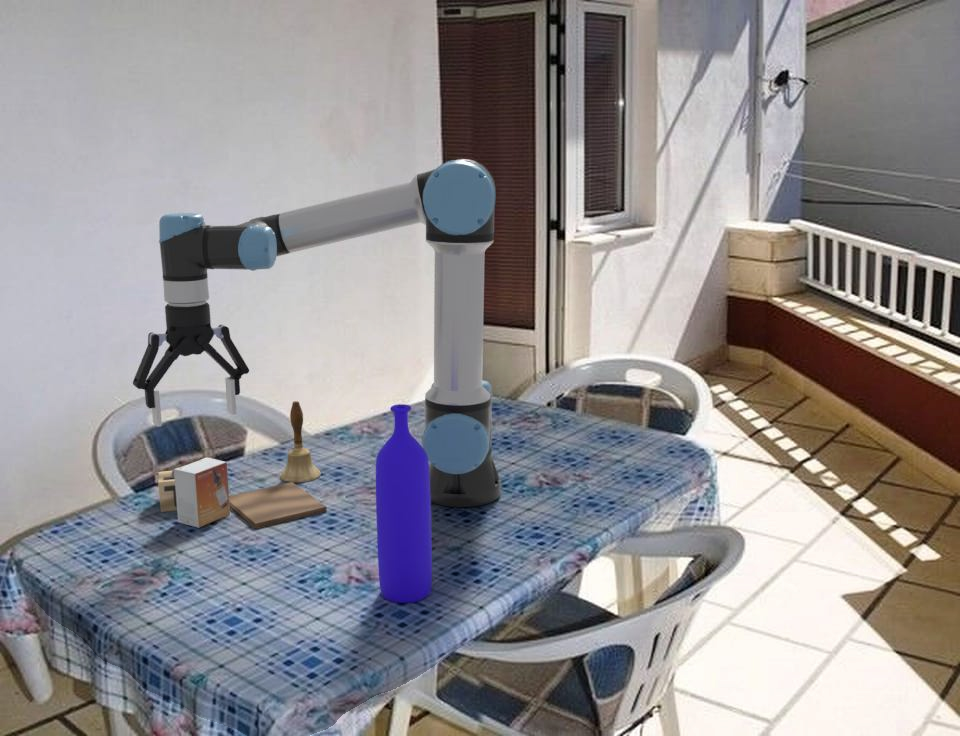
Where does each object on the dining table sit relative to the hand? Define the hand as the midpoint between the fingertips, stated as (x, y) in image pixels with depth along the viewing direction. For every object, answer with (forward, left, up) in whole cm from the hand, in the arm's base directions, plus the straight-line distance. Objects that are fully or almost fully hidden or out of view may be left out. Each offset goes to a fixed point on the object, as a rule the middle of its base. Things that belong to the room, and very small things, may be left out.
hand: (195, 418), depth 175 cm
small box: (0, 0, -20) cm, 20 cm away
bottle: (-47, -16, -20) cm, 53 cm away
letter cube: (+10, +2, -19) cm, 22 cm away
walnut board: (-2, -13, -19) cm, 23 cm away
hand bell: (+11, -24, -20) cm, 33 cm away
